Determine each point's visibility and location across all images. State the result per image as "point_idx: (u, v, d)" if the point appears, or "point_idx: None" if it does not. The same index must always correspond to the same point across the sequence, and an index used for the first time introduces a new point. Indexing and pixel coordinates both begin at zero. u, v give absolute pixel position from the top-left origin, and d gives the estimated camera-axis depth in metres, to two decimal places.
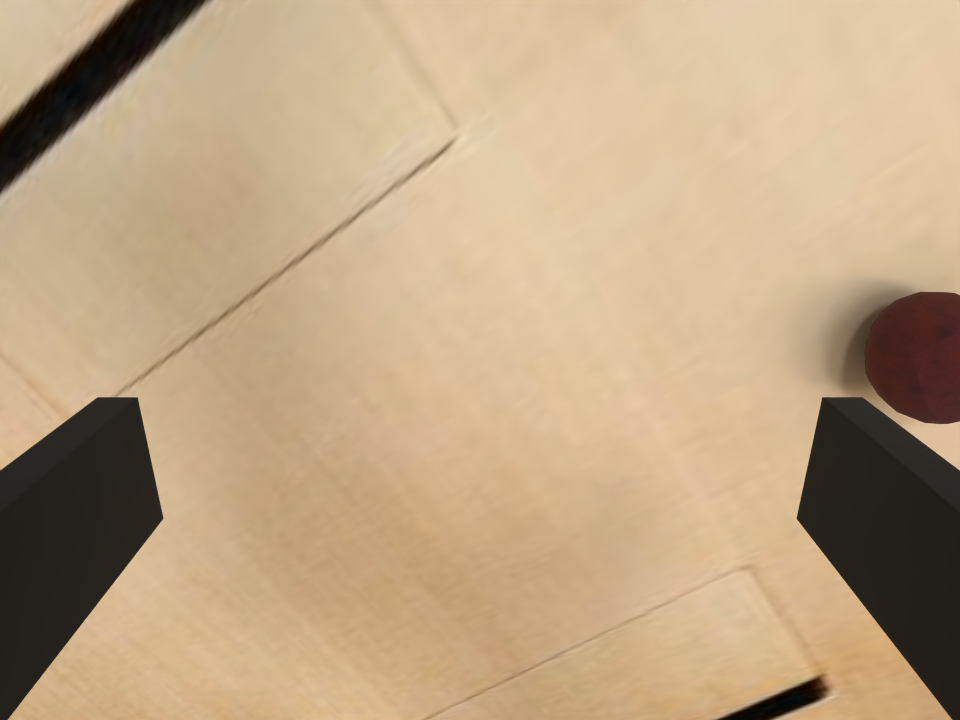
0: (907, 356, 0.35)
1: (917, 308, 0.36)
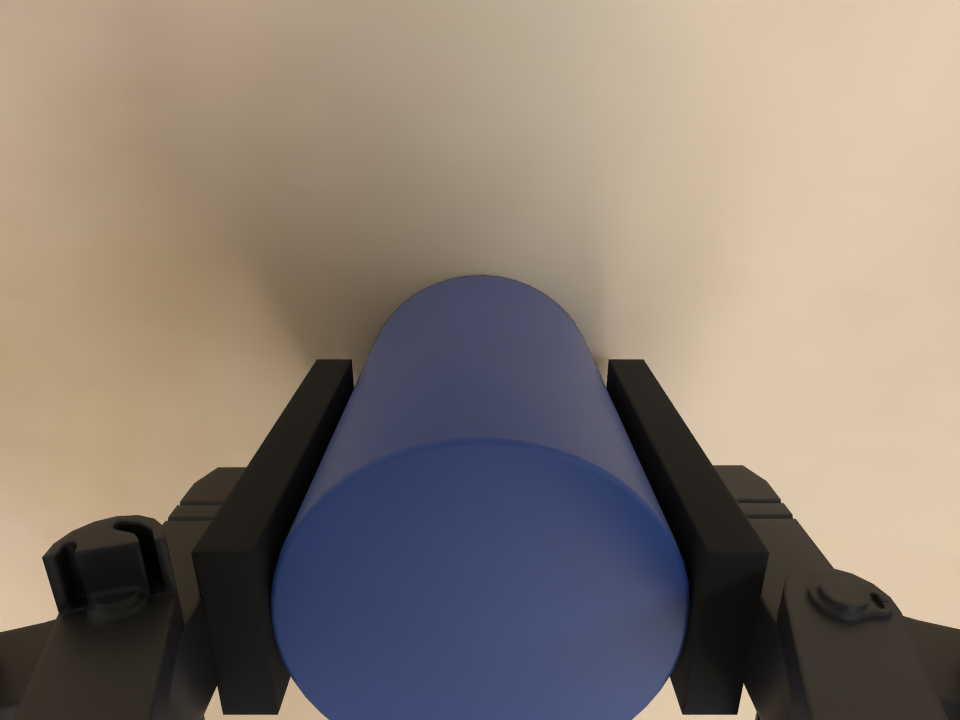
0: None
1: None
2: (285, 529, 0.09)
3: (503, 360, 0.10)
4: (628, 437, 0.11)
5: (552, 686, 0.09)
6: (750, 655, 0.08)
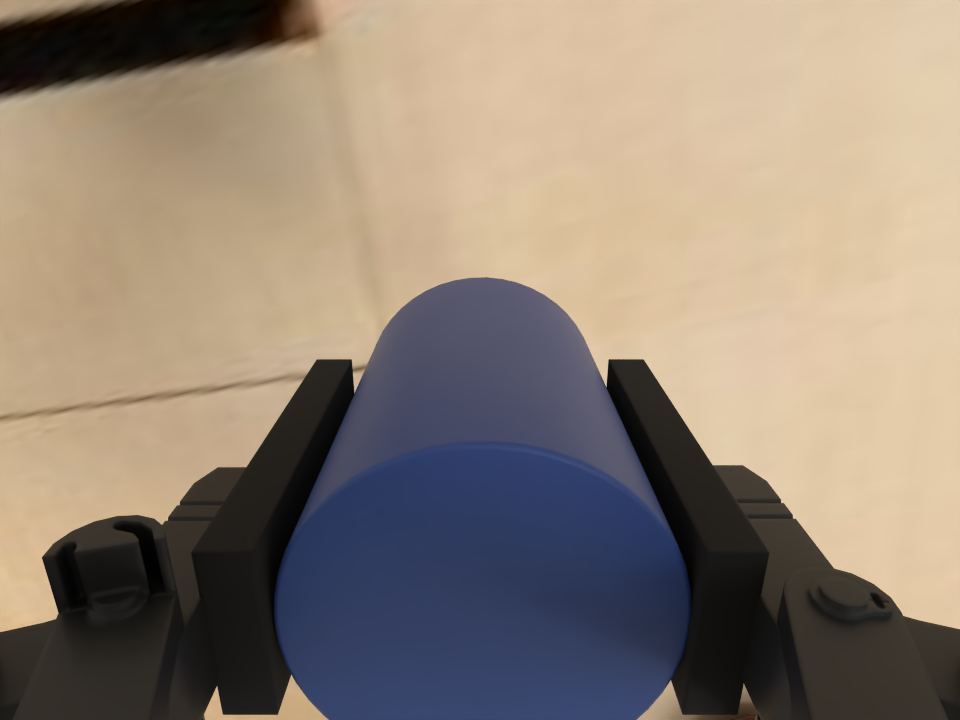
0: None
1: None
2: (286, 530, 0.09)
3: (505, 362, 0.10)
4: None
5: (554, 689, 0.09)
6: (751, 655, 0.08)
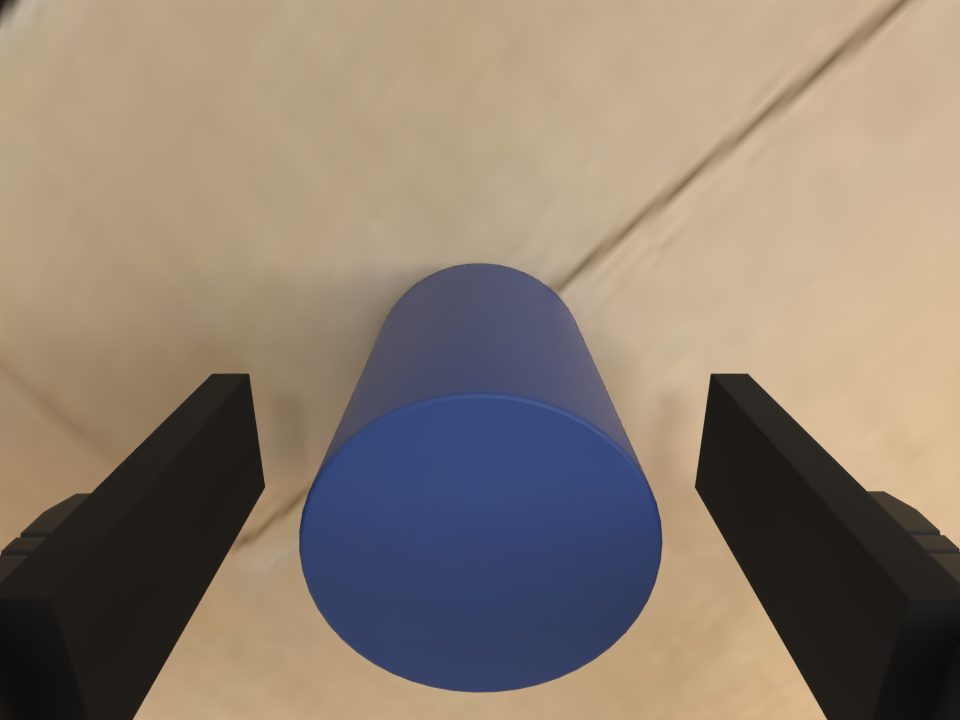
0: None
1: None
2: (121, 566, 0.08)
3: (500, 332, 0.11)
4: None
5: (542, 614, 0.10)
6: (944, 710, 0.07)
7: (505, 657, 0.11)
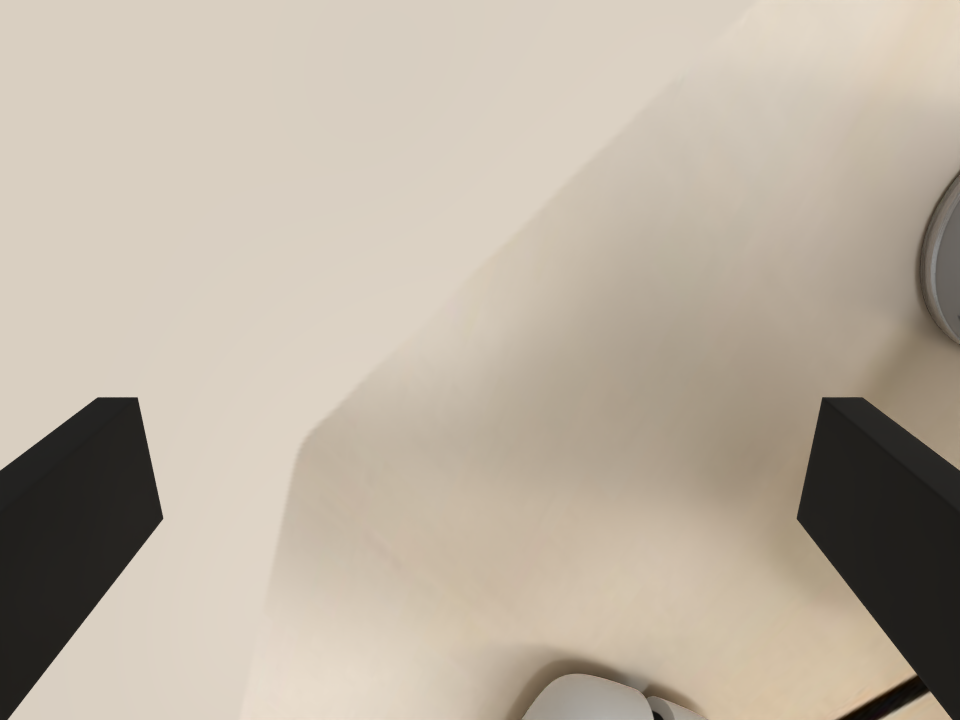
0: None
1: None
2: None
3: None
4: None
5: None
6: None
7: None
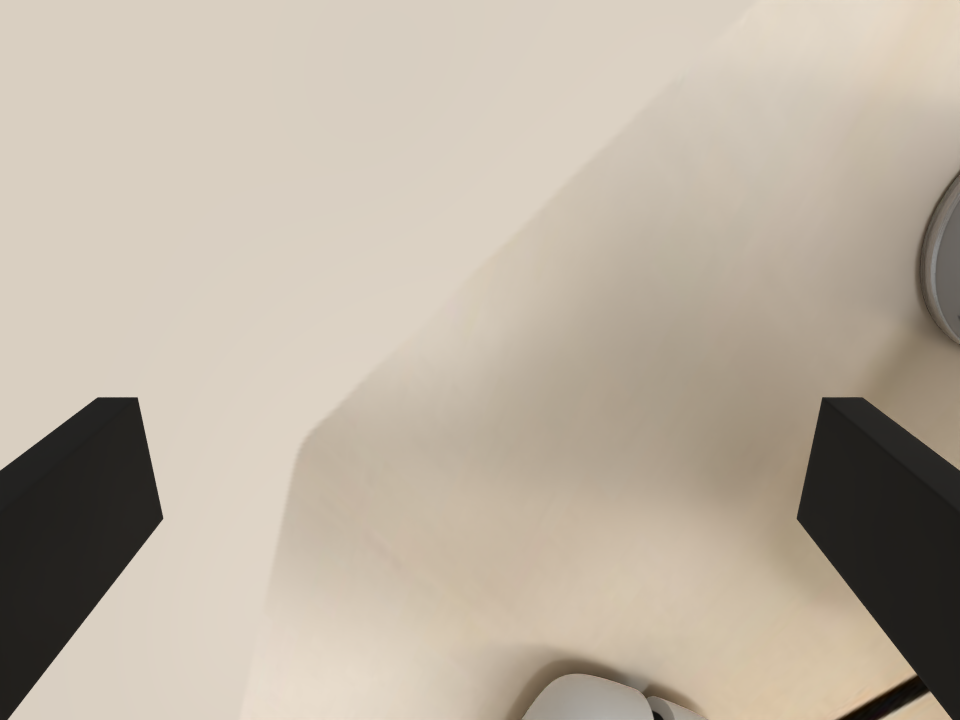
0: None
1: None
2: None
3: None
4: None
5: None
6: None
7: None
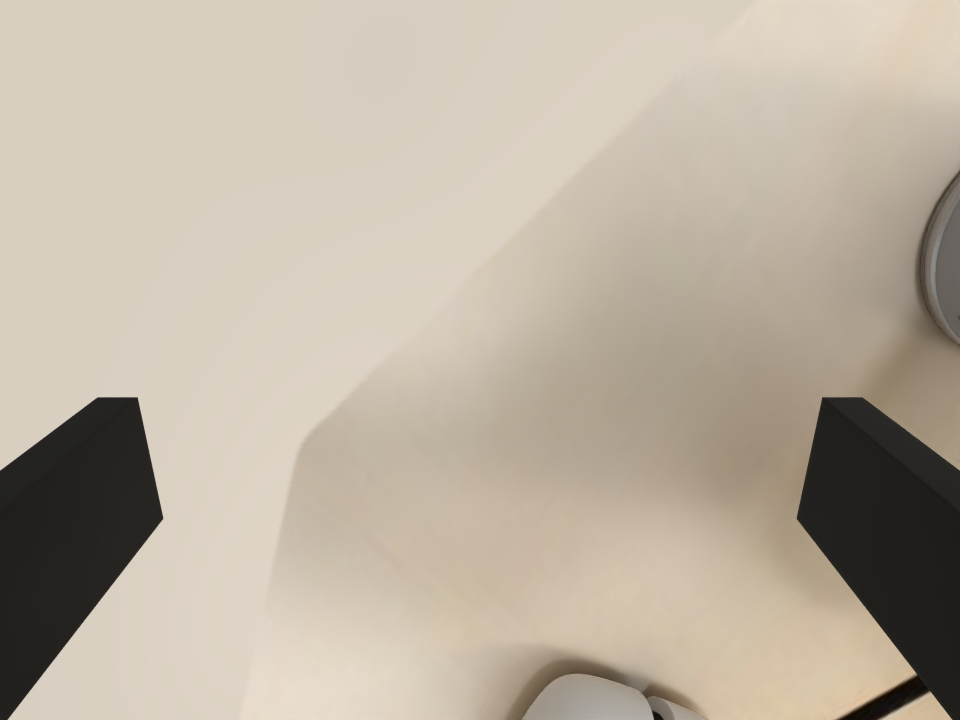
0: None
1: None
2: None
3: None
4: None
5: None
6: None
7: None
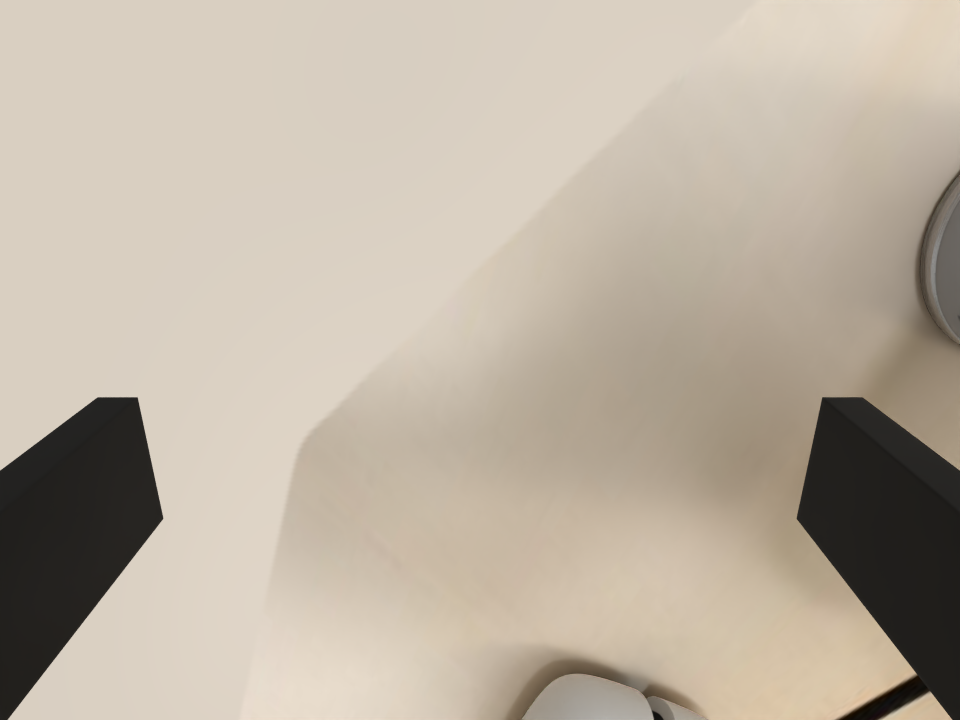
0: None
1: None
2: None
3: None
4: None
5: None
6: None
7: None
